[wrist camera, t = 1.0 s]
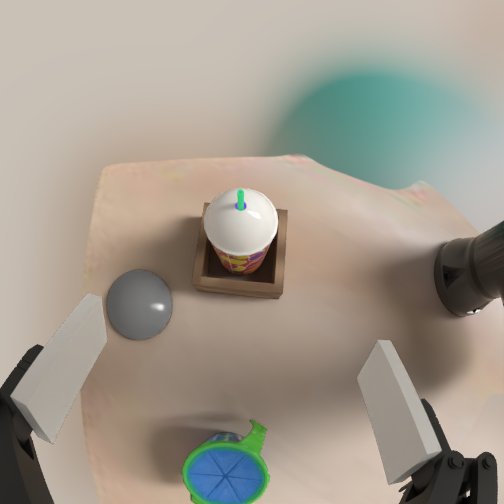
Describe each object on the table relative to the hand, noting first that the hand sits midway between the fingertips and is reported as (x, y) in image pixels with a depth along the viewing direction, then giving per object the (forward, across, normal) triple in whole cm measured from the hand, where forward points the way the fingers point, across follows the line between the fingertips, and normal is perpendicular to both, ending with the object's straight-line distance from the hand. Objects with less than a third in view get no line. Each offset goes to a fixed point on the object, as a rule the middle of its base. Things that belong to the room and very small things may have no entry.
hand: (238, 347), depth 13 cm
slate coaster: (+26, -14, -19) cm, 35 cm away
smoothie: (+32, 0, -10) cm, 33 cm away
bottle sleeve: (+32, 0, -10) cm, 33 cm away
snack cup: (+11, +3, -33) cm, 35 cm away
